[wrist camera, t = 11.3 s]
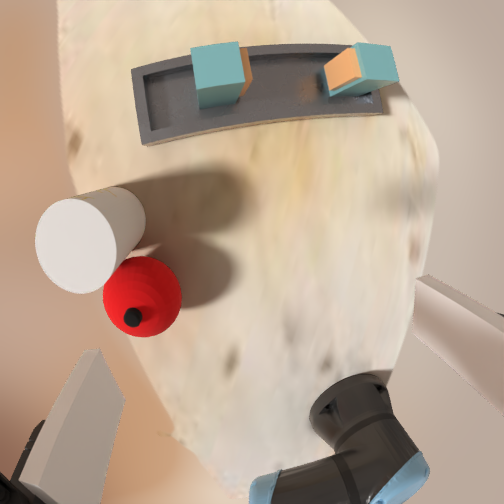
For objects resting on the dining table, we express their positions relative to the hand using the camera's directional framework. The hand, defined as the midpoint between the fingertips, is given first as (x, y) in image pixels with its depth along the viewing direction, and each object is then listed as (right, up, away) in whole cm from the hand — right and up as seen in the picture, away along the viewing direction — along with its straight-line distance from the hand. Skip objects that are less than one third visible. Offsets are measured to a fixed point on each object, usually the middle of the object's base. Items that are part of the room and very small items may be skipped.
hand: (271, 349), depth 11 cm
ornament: (-14, 0, +25) cm, 28 cm away
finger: (-5, +22, +18) cm, 29 cm away
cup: (-17, +7, +22) cm, 29 cm away
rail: (0, +23, +20) cm, 30 cm away
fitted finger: (+10, +24, +20) cm, 33 cm away
